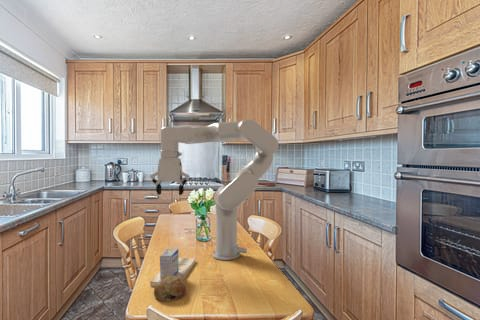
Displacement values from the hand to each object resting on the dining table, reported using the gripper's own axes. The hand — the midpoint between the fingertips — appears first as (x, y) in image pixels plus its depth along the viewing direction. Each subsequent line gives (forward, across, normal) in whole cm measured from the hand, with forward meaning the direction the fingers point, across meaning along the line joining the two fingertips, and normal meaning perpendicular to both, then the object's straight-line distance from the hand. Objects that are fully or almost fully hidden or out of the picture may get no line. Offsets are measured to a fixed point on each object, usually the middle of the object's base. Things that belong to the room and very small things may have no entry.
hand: (170, 194), depth 130 cm
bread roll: (+29, -10, +32) cm, 44 cm away
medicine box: (+27, -7, +21) cm, 35 cm away
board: (+28, -7, +15) cm, 33 cm away
